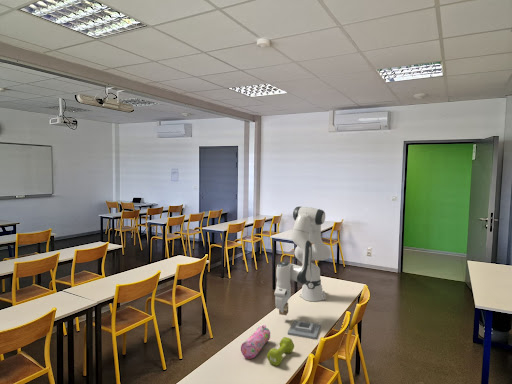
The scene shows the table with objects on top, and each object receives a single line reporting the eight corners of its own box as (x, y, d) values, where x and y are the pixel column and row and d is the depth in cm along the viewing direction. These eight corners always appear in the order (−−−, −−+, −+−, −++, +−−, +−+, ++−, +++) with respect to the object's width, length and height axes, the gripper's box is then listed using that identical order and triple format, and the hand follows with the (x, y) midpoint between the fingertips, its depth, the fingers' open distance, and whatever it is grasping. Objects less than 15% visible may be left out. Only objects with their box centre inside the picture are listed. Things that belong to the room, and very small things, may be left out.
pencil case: (257, 338, 181) (256, 322, 180) (272, 341, 177) (272, 325, 176) (239, 358, 161) (238, 340, 161) (255, 362, 158) (255, 344, 157)
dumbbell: (280, 369, 152) (279, 354, 152) (265, 363, 156) (265, 349, 156) (295, 352, 166) (295, 338, 165) (281, 348, 170) (281, 334, 170)
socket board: (294, 322, 199) (294, 317, 199) (320, 326, 193) (320, 321, 193) (287, 334, 184) (287, 328, 184) (315, 339, 178) (315, 333, 178)
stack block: (281, 311, 204) (281, 301, 203) (288, 312, 202) (288, 302, 202) (279, 314, 200) (279, 304, 199) (286, 315, 198) (286, 305, 198)
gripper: (283, 281, 210) (283, 302, 212) (273, 293, 192) (273, 316, 193) (293, 283, 208) (293, 303, 209) (283, 295, 189) (283, 318, 190)
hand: (283, 309), depth 201 cm, fingers closed on stack block, 4 cm apart
